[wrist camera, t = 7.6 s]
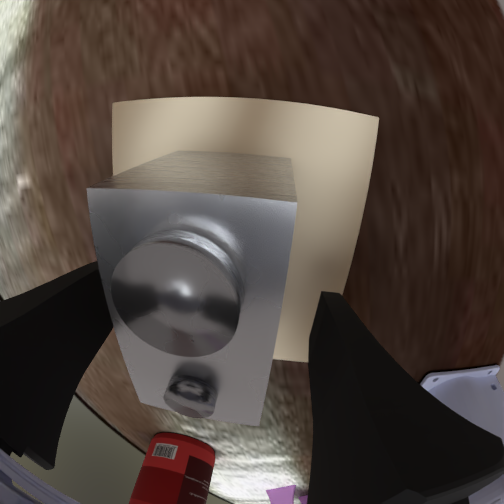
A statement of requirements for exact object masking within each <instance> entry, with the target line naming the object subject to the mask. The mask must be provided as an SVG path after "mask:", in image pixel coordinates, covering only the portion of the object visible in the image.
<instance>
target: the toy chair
mask: <svg viewBox="0 0 504 504" xmlns="http://www.w3.org/2000/svg"><path fill="white" fill-rule="evenodd" d="M295 488H296V485H291V486H286V487H281V488H276V489H271V490H266V492H267V494H268V496H269V499H270V502H271V504H294V503H293V501H294V492H295ZM298 498H299V500H300V502H301V504H307V498H308V495H306V496H301V497H298Z"/></svg>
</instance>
